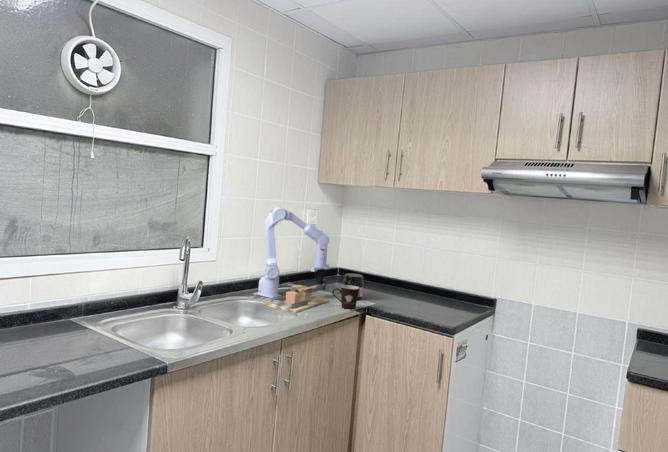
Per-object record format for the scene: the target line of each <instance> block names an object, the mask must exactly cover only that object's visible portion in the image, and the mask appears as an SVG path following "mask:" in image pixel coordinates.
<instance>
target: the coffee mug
mask: <svg viewBox="0 0 668 452" xmlns="http://www.w3.org/2000/svg"><path fill="white" fill-rule="evenodd" d="M335 291H339V293H340V296H341V299H340V298H339V297H337V296H336V294H335ZM358 293H359V287H357V286H352V285H343V284H342V285H341V286H340V289H339V288H338V287H337V288H334V289H333V290H332V295H333V297H334V298H336V299H337V300H338V301H339V302H340V303H341V309H342V308H344V309H343V310H345V309H355V310H356V306H357V304H358V303H357V302H358V300H357V298H358Z"/></svg>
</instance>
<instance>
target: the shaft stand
mask: <svg viewBox="0 0 668 452" xmlns="http://www.w3.org/2000/svg"><path fill="white" fill-rule="evenodd" d="M297 290H299V291H302V293H301V295H299V300H298V302H297V303H293V304H291V303H287V302H286V295H283V296H278V297H275V298H271V300H270V301H267V302H264V305H263V306H265V307H269V308H274V309H277V310H282V311H287V312H290V313H298V312H301V311H304V310H308V309H311V308H314V307H317V306H320V305H323V304H326V303H329V302H330V299H327V298H323V297H318V296H313V293H312V287H311V286H306V285H301V284H296V285H291V287H290V291H292V292H297Z"/></svg>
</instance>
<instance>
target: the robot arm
mask: <svg viewBox="0 0 668 452" xmlns="http://www.w3.org/2000/svg"><path fill="white" fill-rule="evenodd" d="M283 220H285V221H290V222H292V223H294V224H295V225H296V226H298V227H299V228H301V229H302V230H303V233H304V235H306V236H307V237H308V238H310V239H311V240H313V241H315V242H316V246H315V258H314V265H313V266H312V267H310V272H312V273H313V274H314V277H315V281H316V282H315V284H316V283H317V284H318V285H321V284H322V281H323V279H325V276H326V274H327V270H329V269H330V265H329V264H327V261H328V260H327V258H328V245H329V244H330V238H329V236H328V235H327V234H325V233H324V232H323V231H322V230H320V229H318V228H317V227H316V225H315V224H312V223H309V224H307V223H306V222H304V221H303V220H302V218H301V219H300V218H299V217H298V216H297V215H295V214H294V213H293V212H291V211H289V210H287V209H285V208H284V207H282V206H276V207H273V208H272V210H271V211H270V212H269V214H268V216H267V218H266V219H265V220H264V223H263V224H264V225H263V226H264V236H265V240H264V241H265V252H266V266H265V269H264V270H265V275H264V276H262V277H260V279H259V281H258V292H257V293H256V295H258V296H261V297H266V298H271V299H275V298H279V297H283V296H282V294H279V286H280V269H279V267H278V264H277V263H278V261H277V253H276V239H275V238H276V237H275V227H276V225H277V224H278V223H280V222H282V221H283Z"/></svg>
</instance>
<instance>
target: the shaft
mask: <svg viewBox="0 0 668 452" xmlns="http://www.w3.org/2000/svg"><path fill="white" fill-rule="evenodd" d="M310 287H312V294H313V293H316V292H320V291H322V290H323V291H326V290H327V289H326V288H327V279H325V278H323V281H322V284H321V285H318V284H317V283H316V282H315V285H312V286H310ZM297 293H299V295H301V293H302V291H299V290H297Z"/></svg>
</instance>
